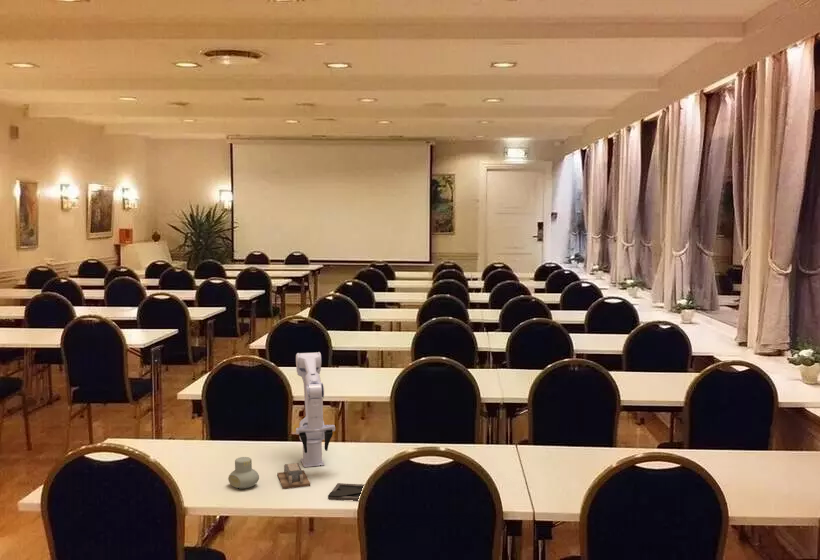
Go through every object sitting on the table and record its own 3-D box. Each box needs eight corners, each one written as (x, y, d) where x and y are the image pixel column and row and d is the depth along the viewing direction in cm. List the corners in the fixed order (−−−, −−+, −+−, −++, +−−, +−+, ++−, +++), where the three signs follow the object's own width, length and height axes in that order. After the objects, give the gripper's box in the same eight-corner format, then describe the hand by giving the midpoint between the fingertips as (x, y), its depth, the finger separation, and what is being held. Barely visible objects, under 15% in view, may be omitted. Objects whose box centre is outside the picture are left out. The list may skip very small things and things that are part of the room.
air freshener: (225, 485, 289) (224, 458, 288) (243, 479, 295) (243, 453, 294) (243, 492, 282) (243, 465, 281) (262, 486, 288) (261, 459, 287)
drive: (285, 474, 297) (284, 463, 296) (298, 473, 298) (298, 462, 298) (288, 482, 288) (288, 471, 288) (302, 481, 290) (302, 470, 289)
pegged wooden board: (277, 475, 299) (277, 465, 299) (303, 472, 302) (303, 462, 302) (282, 489, 285) (282, 478, 284) (310, 486, 288) (310, 475, 287)
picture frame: (328, 501, 275) (379, 503, 272) (327, 495, 275) (379, 498, 272) (337, 487, 288) (386, 489, 285) (337, 482, 288) (386, 484, 285)
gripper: (297, 419, 291) (298, 456, 292) (336, 416, 295) (337, 452, 296) (294, 415, 297) (295, 450, 299) (332, 411, 302) (333, 446, 303)
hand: (315, 451), depth 298 cm, fingers open, 7 cm apart
